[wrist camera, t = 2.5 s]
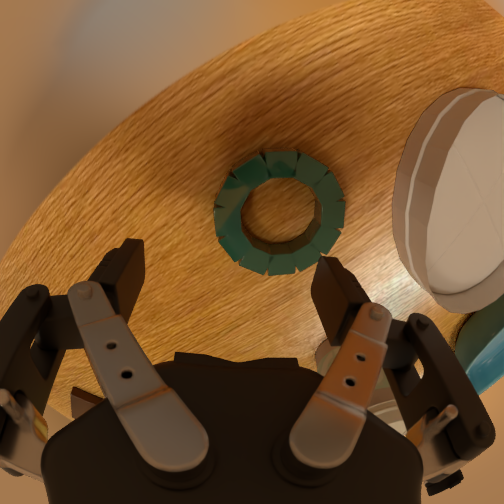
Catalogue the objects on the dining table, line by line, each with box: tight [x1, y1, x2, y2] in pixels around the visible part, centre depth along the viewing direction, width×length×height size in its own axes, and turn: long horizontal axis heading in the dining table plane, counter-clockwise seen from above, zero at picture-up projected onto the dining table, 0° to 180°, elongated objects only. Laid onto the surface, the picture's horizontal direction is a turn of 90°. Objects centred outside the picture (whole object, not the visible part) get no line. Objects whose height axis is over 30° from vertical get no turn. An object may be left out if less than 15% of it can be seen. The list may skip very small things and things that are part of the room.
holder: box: [71, 387, 103, 419], centre depth 27 cm, size 9×9×13 cm
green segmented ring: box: [213, 148, 346, 276], centre depth 20 cm, size 9×9×2 cm
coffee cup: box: [315, 339, 407, 436], centre depth 24 cm, size 9×9×12 cm
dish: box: [392, 88, 504, 314], centre depth 19 cm, size 22×22×5 cm
